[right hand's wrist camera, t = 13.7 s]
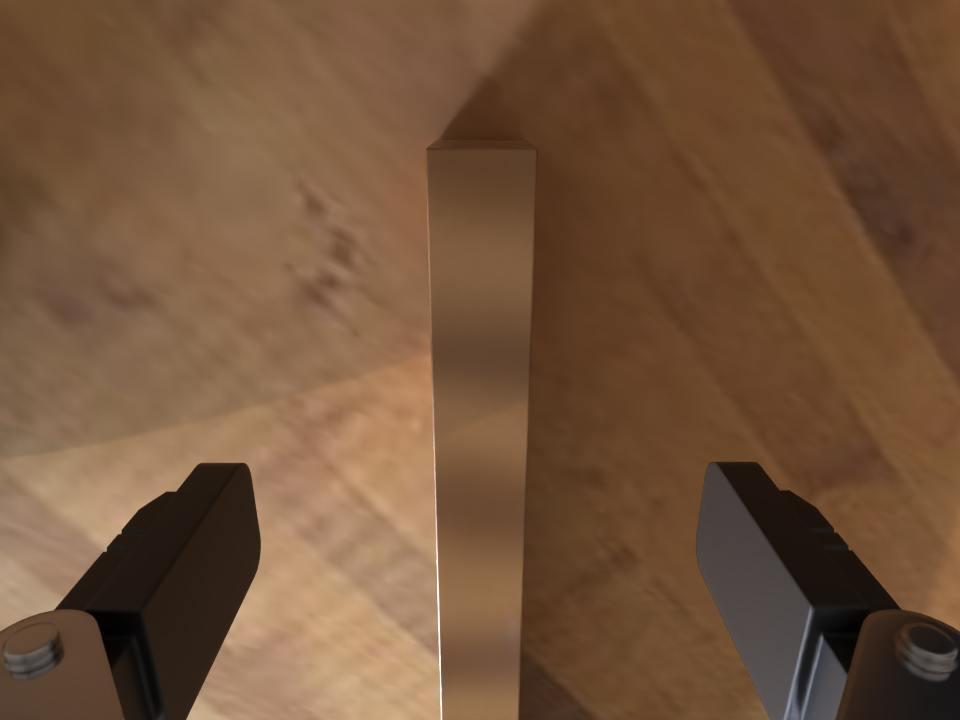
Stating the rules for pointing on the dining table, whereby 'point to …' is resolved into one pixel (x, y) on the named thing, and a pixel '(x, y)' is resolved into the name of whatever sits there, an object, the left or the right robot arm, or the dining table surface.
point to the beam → (480, 412)
